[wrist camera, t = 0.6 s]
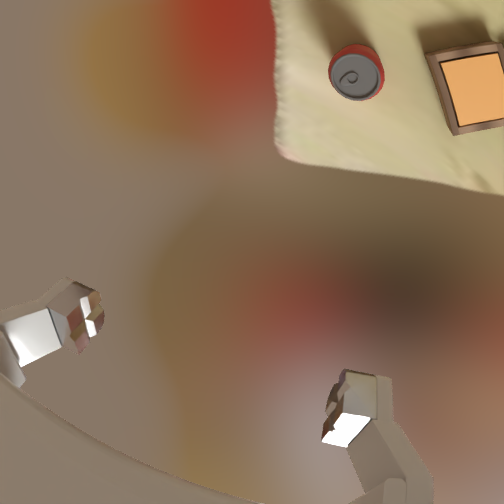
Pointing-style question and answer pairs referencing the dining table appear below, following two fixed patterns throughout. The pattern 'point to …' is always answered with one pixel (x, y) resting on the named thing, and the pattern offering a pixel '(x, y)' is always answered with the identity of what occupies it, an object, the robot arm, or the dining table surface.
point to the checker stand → (442, 89)
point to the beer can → (356, 72)
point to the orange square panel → (475, 87)
